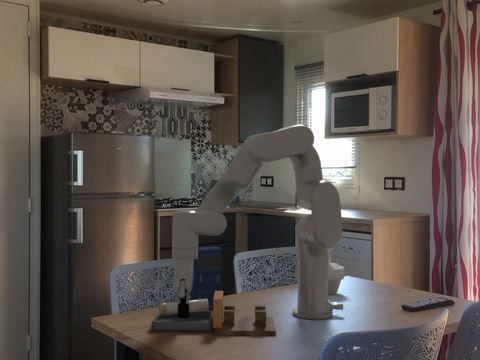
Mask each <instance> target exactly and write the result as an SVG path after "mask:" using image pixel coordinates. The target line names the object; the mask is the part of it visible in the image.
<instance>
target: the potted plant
mask: <svg viewBox="0 0 480 360" xmlns="http://www.w3.org/2000/svg"><path fill="white" fill-rule="evenodd" d="M341 239H342V238H341ZM341 239H340V241H339V244H341V242H342V240H341ZM345 241H346V237H344V238H343V242H345ZM335 248H336V246H334V247H332V248H327V250H328V258H329V266H328V296H331V295H332V296H333V295H336V294H337V293H338V291H339V288H340V285H341V283H342V280H344V279H345V266H342V265H339V263H334V262H331V261H332V257H331V256H332V253H331V252H333V251H334V250H335Z"/></svg>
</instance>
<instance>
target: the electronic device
mask: <svg viewBox="0 0 480 360" xmlns="http://www.w3.org/2000/svg"><path fill="white" fill-rule="evenodd" d="M215 291H222V247H219V246H216V245H215V246H204V247H201V246H200V247H198V258H197V259H194V275H193V287H192V290H191V292H190V300H199V299H208V306H209V310H208V311H213V299H214V294H215Z"/></svg>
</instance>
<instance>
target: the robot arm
mask: <svg viewBox="0 0 480 360" xmlns="http://www.w3.org/2000/svg"><path fill="white" fill-rule="evenodd" d="M314 142H315V135H314V132H313V131H312V129H311V128H309V126H306V125H304V124H296V125H290V126H283V127H281V128H279V129H277V130H274V131H270V132H269V131H268V132H263V133H257V134H251V135H250V136H248V137H246V139H245V140H244V141H243V143H242V144H241V145H240V148H239V149H238V150H237V152H236V154H235V155H234V157H233V159H232V160H231V162H230V163H229V165H228V166H227V169H226V170H225V171H224V172H223V174H222V176H221V177H220V178H219V179H218V180H217V181H216V183H215V184H214V185H213V186H212V187H211V189H210V190H209V191H208V192H207V193H206V195H205V196H204V198H203V200H202V202H201V203H200V205H199V206H198V208H197V210H191V209H180V210H179V209H178V210H175V211H174V212H173V213H172V224H171V225H172V227H171V229H172V233H171V234H172V235H171V237H172V238H171V242H172V244H171V258H172V259H174V270H173V271H174V273H173V290H172V291H173V294H174V295H176V294H177V293H178V299H177V300H178V301H177V302H178V318H189V314H190V313H189V304H188V301H190V292H191V290H192V287H193V275H194V259H197V258H198V248H199V235H200V236H201V235H202V236H207V237H214V236H215V237H216V236H219V235H221V234H223V233H224V231H226V228H227V227H228V226H227V225H228V221H227V218H226V216H225V215H224V214H223V213H224V211H225V210H226V209H227V207H229V205H230V204H231V202H233V200H235V199H236V198H237V197H239V196H241V195H242V194H243V193H245V192H246V191H247V190H249V188H250V186H251V184H253V181H254V179H255V178H256V177H257V175H258V173H259V171H260V170H261V169H262V167H263V164H264V163H270V162H271V163H272V162H276V161H280V160H284V159H290V161H291V163H292V166H293V170H294V179H295V190H296V199H297V203H298V205H299V206H300V207H301V208H302V209H305V210H309V211H311V213H308V214H305V215H303V216H302V217H300V219H298V221H297V224H296V227H295V236H296V244H297V307H296V306H295V307H294V308H293V309H292V316H295V317H297V318H301V319H305V320H325V319H330V318H332V317H333V316H334V315H333V314H334V310H337V311H344V303H338V302H331V301H330V300H329V295H328V266H329V258H328V250H327V248H332V247H334V246H335V247H336V246H337V245H339V244H340V239H342V237H343V216H342V209H341V208H342V207H341V206H342V205H341V198H340V193H339V191H338V188H337V187H336V186H335V185H334V184H333V183H332V182H330V181H328V180H324V177H323V175H324V174H323V170H322V169H323V168H322V163H321V158H320V155H319V152H318V151H317V149H316V148H315V147H314Z"/></svg>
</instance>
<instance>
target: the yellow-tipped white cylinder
mask: <svg viewBox="0 0 480 360" xmlns="http://www.w3.org/2000/svg"><path fill="white" fill-rule="evenodd" d="M188 304H189V313H191V312H200V311H210V310H209V306H208V299H199V300H190V301H188ZM158 310H159V314H160V316H165V315H172V314H178V301H175V302H161V303H159V304H158Z"/></svg>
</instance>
